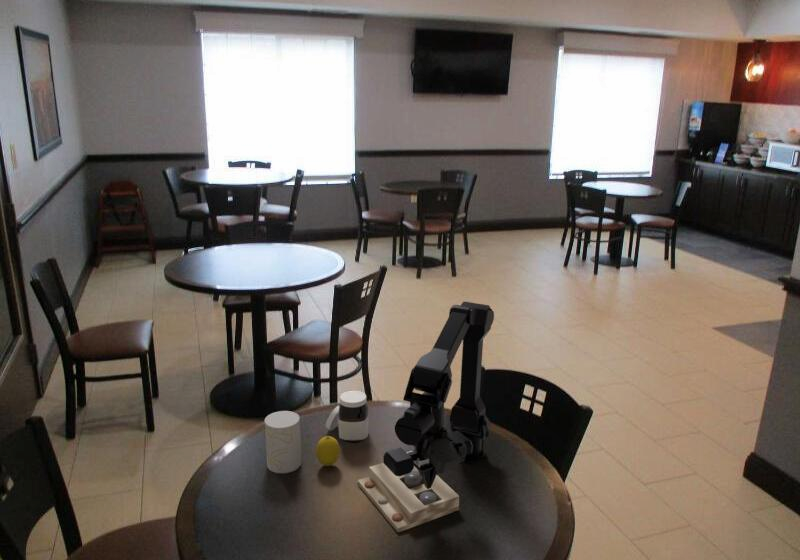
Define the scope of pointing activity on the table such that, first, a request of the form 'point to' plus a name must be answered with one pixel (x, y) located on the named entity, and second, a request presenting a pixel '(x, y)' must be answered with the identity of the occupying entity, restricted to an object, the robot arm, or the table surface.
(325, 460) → the lemon
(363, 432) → the spread jar
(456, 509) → the button board
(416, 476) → the button middle
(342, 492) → the table surface
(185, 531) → the table surface
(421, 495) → the button
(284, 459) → the white cylinder
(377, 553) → the table surface
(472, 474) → the table surface
